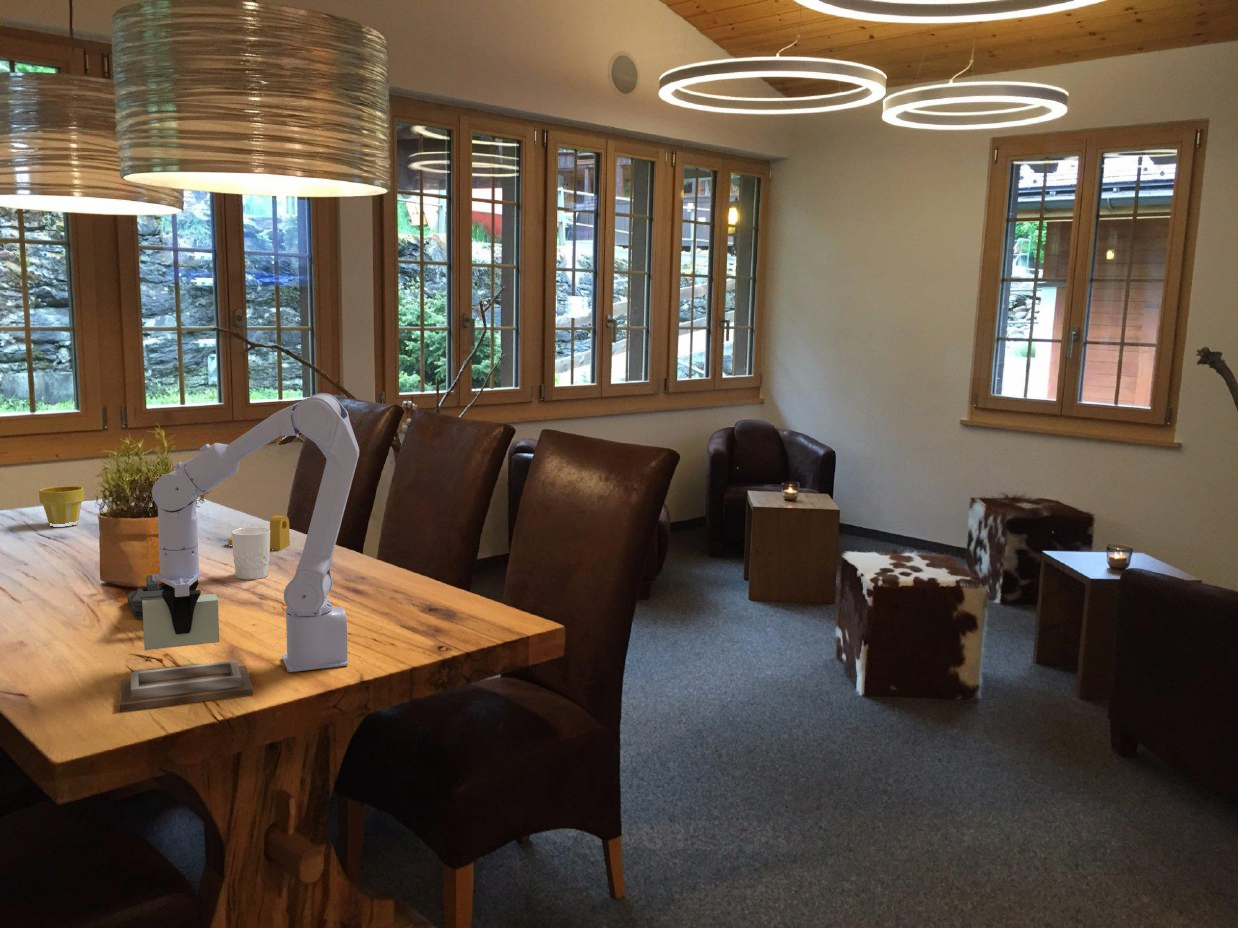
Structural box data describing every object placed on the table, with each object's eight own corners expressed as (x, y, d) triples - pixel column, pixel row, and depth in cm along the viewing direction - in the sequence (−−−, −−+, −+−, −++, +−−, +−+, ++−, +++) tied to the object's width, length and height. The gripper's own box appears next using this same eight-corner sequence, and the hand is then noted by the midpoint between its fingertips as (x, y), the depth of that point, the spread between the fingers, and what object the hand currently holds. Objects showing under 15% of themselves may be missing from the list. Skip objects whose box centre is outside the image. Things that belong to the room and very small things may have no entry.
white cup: (279, 574, 224) (278, 529, 223) (251, 582, 217) (249, 536, 216) (253, 569, 228) (251, 525, 226) (224, 577, 221) (223, 531, 219)
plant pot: (34, 525, 268) (32, 488, 267) (75, 519, 276) (73, 484, 275) (50, 531, 262) (48, 493, 260) (92, 525, 270) (90, 488, 268)
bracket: (289, 547, 250) (289, 514, 249) (280, 551, 246) (279, 517, 245) (234, 543, 254) (234, 510, 253) (224, 547, 249) (223, 513, 248)
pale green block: (217, 635, 169) (216, 593, 168) (219, 642, 165) (217, 600, 164) (144, 642, 164) (142, 600, 163) (144, 650, 161) (142, 607, 160)
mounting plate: (246, 671, 163) (245, 656, 163) (253, 694, 154) (252, 678, 153) (120, 686, 156) (120, 670, 155) (119, 711, 146) (119, 694, 146)
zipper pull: (127, 601, 178) (126, 568, 200) (128, 638, 179) (127, 601, 201) (183, 596, 182) (176, 565, 204) (184, 632, 183) (177, 597, 205)
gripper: (150, 539, 167) (154, 619, 169) (151, 558, 154) (155, 645, 156) (197, 536, 170) (200, 615, 172) (202, 554, 157) (205, 640, 159)
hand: (182, 629), depth 165 cm, fingers closed on pale green block, 4 cm apart
